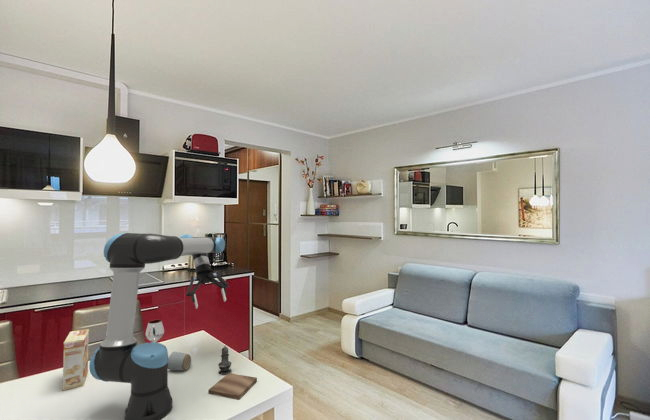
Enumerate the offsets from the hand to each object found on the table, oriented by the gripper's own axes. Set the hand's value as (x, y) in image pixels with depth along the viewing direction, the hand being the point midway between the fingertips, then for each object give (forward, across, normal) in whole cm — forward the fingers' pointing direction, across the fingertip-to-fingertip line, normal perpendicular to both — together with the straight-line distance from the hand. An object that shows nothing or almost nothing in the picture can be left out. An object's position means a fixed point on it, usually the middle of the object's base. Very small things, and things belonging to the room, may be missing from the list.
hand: (211, 304), depth 154 cm
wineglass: (+9, +25, -30) cm, 40 cm away
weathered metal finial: (+31, 0, -5) cm, 32 cm away
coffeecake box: (+10, +56, -24) cm, 61 cm away
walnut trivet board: (+40, +1, +7) cm, 41 cm away
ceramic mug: (+21, +16, -16) cm, 31 cm away
